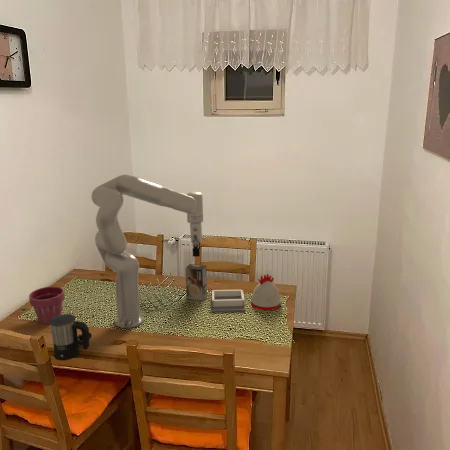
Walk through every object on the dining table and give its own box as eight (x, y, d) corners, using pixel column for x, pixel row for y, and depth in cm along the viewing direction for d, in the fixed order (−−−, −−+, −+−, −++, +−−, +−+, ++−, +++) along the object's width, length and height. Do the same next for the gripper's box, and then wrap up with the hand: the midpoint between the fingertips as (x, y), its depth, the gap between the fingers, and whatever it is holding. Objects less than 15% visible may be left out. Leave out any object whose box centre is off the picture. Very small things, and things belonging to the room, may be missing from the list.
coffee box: (207, 295, 222) (207, 265, 217) (203, 300, 216) (202, 269, 212) (190, 293, 224) (189, 263, 220) (185, 298, 218) (184, 268, 214)
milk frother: (52, 362, 166) (48, 326, 162) (55, 341, 180) (51, 308, 176) (92, 356, 169) (89, 321, 165) (92, 336, 184) (89, 303, 180)
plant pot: (36, 330, 189) (32, 302, 186) (29, 317, 201) (26, 291, 197) (70, 321, 197) (67, 294, 194) (62, 309, 208) (59, 283, 205)
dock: (245, 311, 204) (245, 303, 203) (212, 312, 204) (212, 304, 203) (242, 293, 224) (242, 286, 223) (212, 294, 223) (212, 286, 222)
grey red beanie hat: (246, 301, 215) (246, 272, 211) (270, 295, 221) (270, 267, 217) (261, 312, 203) (261, 282, 199) (286, 306, 210) (287, 276, 206)
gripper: (202, 223, 201) (204, 258, 206) (203, 213, 218) (204, 246, 223) (186, 223, 201) (187, 259, 206) (188, 213, 218) (189, 247, 222)
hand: (196, 252), depth 214 cm, fingers open, 9 cm apart
